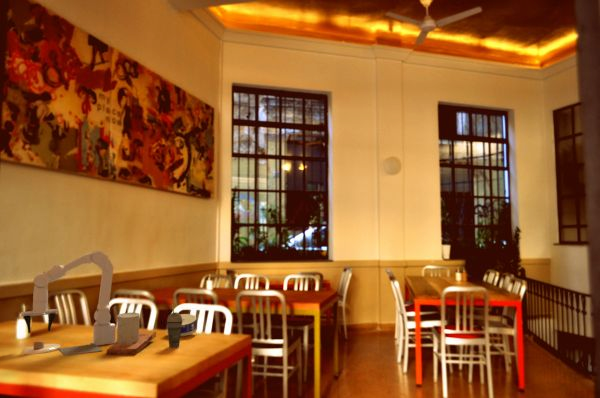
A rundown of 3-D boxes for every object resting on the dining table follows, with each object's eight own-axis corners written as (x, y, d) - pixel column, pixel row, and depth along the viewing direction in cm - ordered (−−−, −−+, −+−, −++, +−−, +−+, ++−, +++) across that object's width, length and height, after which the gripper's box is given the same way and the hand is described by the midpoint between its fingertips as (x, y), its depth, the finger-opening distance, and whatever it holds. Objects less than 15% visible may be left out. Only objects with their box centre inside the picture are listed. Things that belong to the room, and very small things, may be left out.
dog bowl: (160, 321, 235) (160, 332, 236) (181, 328, 227) (181, 339, 228) (182, 311, 248) (182, 321, 249) (202, 317, 240) (203, 328, 241)
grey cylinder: (139, 344, 203) (140, 316, 204) (116, 346, 200) (117, 318, 200) (138, 338, 212) (139, 311, 212) (116, 340, 209) (117, 313, 209)
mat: (94, 345, 212) (94, 343, 212) (102, 352, 200) (102, 350, 200) (58, 350, 203) (58, 348, 203) (64, 358, 191) (64, 355, 191)
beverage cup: (177, 349, 206) (178, 304, 208) (163, 348, 208) (163, 303, 209) (185, 345, 213) (185, 302, 215) (170, 344, 215) (171, 301, 216)
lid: (62, 343, 213) (61, 335, 214) (58, 351, 198) (58, 342, 198) (20, 349, 207) (20, 340, 207) (12, 357, 191) (12, 348, 191)
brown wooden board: (156, 337, 223) (157, 330, 224) (136, 356, 193) (136, 349, 194) (130, 337, 223) (130, 330, 223) (105, 356, 193) (105, 349, 193)
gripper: (57, 298, 212) (56, 328, 211) (20, 301, 203) (19, 332, 202) (59, 300, 206) (58, 330, 205) (22, 303, 198) (20, 335, 197)
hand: (39, 331), depth 203 cm, fingers open, 7 cm apart
